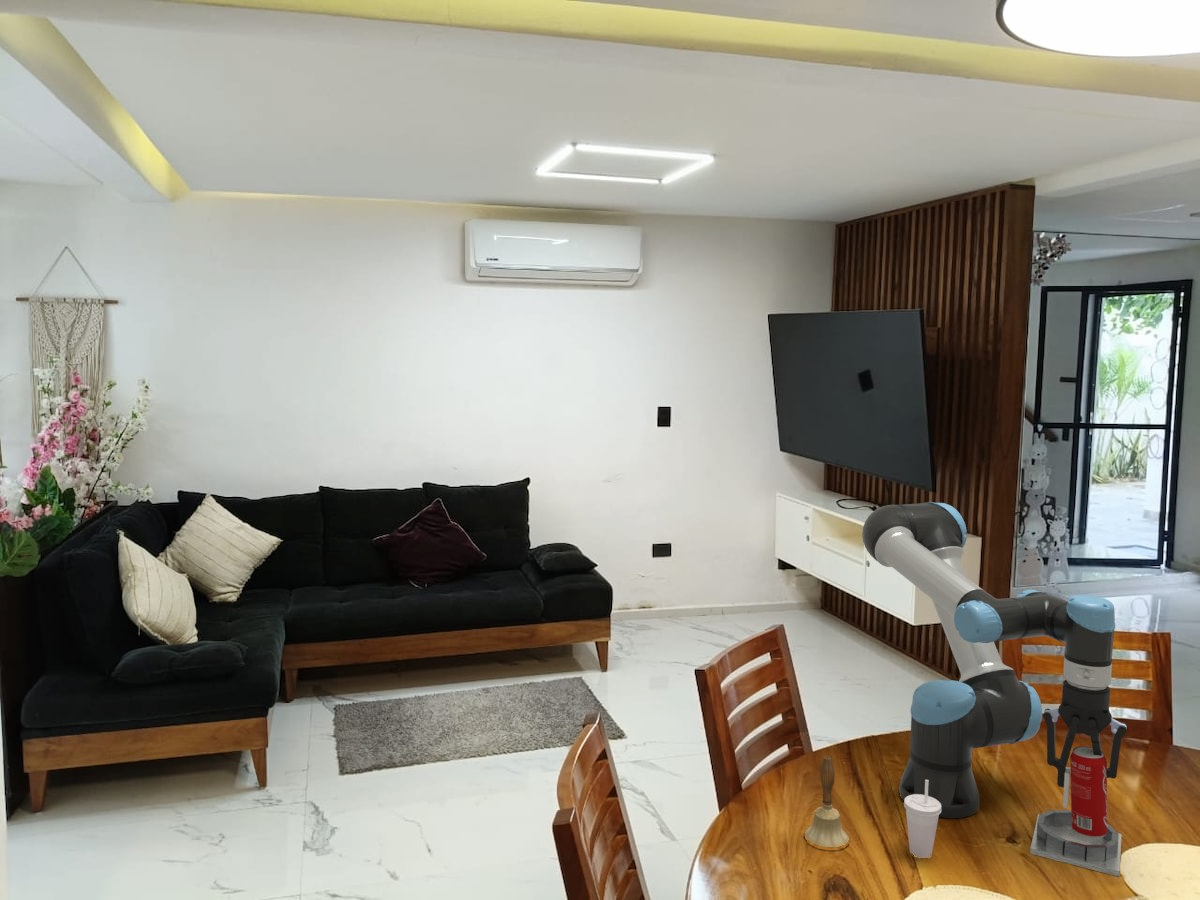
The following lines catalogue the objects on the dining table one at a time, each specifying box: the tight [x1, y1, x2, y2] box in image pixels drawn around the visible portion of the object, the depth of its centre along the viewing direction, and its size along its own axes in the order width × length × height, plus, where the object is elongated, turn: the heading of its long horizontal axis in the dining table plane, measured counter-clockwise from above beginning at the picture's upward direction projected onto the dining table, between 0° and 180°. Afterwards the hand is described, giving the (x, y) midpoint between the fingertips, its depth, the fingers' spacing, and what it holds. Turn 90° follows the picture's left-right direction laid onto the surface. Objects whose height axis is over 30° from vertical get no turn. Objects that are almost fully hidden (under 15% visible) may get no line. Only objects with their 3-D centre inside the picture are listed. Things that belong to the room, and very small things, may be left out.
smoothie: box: [903, 780, 941, 859], centre depth 163 cm, size 6×6×14 cm
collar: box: [1029, 809, 1122, 878], centre depth 165 cm, size 14×14×4 cm
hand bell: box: [804, 755, 850, 847], centre depth 167 cm, size 8×8×16 cm
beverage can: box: [1069, 746, 1109, 838], centre depth 163 cm, size 6×6×15 cm
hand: (1079, 806), depth 165 cm, fingers closed on beverage can, 4 cm apart
